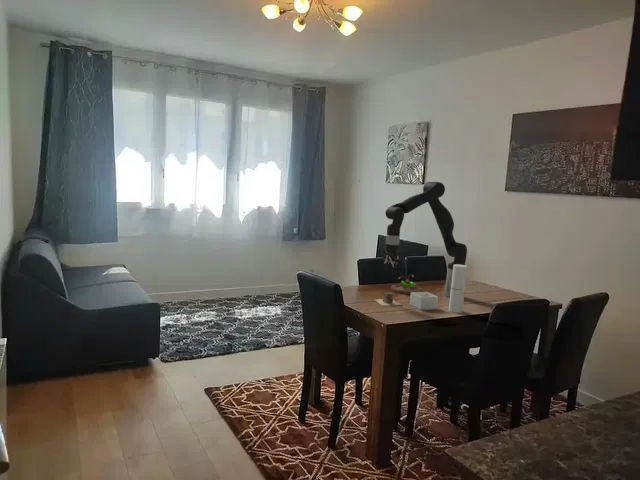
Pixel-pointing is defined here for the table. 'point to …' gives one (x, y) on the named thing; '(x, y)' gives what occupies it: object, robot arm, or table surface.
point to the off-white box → (423, 300)
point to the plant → (406, 287)
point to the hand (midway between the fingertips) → (390, 272)
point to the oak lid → (387, 300)
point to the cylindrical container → (457, 288)
